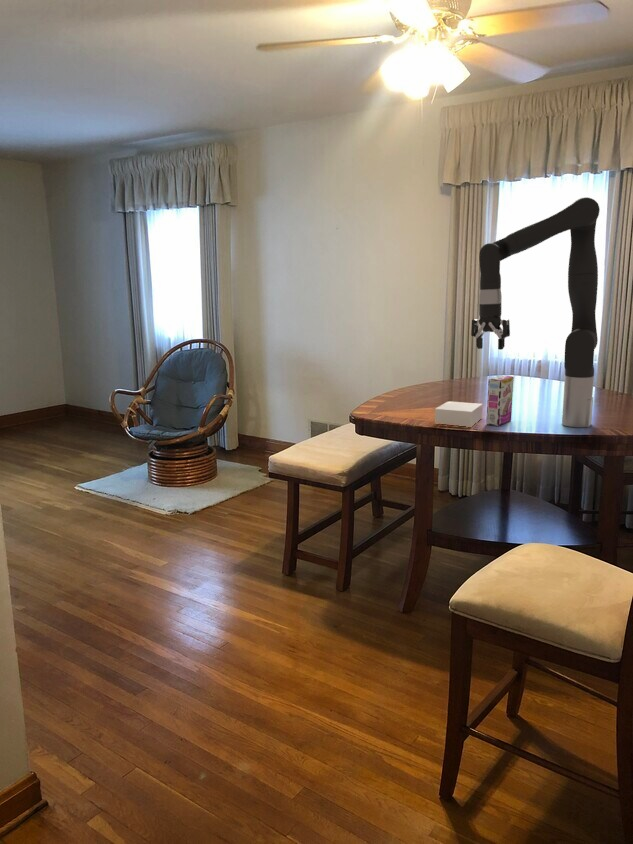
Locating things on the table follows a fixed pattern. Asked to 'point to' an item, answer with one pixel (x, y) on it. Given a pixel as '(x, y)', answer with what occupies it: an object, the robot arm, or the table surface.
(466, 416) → the white rectangular block
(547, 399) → the table surface
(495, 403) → the candy bar box
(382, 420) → the table surface
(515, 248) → the robot arm
